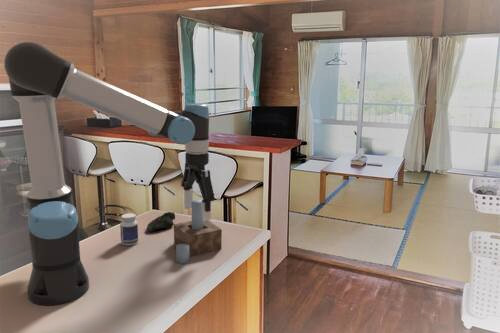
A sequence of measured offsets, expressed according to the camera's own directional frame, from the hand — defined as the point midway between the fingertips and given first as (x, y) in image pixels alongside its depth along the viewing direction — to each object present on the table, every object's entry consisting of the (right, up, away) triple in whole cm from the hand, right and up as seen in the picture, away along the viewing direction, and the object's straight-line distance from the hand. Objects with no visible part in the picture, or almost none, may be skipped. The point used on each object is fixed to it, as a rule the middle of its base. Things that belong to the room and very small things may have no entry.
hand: (197, 214), depth 143 cm
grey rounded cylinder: (-3, -14, -9) cm, 17 cm away
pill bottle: (-24, -10, +4) cm, 26 cm away
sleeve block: (0, -11, +3) cm, 12 cm away
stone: (-16, -8, +18) cm, 25 cm away
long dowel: (0, -11, +3) cm, 12 cm away
